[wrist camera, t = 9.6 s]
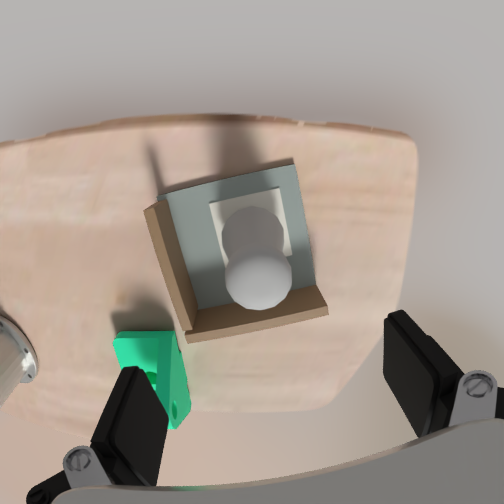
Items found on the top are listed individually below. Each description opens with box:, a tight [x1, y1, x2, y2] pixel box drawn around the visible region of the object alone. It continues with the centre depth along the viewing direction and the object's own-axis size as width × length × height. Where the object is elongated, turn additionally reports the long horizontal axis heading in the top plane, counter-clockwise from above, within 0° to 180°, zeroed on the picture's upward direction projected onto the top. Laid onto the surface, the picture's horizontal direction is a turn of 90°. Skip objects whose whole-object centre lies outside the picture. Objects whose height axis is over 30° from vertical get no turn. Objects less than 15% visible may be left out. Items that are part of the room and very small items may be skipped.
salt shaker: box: [221, 206, 292, 310], centre depth 25 cm, size 6×6×13 cm
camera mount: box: [113, 331, 191, 429], centre depth 32 cm, size 12×8×10 cm, turn 3°
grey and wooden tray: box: [143, 164, 329, 344], centre depth 30 cm, size 14×14×6 cm
